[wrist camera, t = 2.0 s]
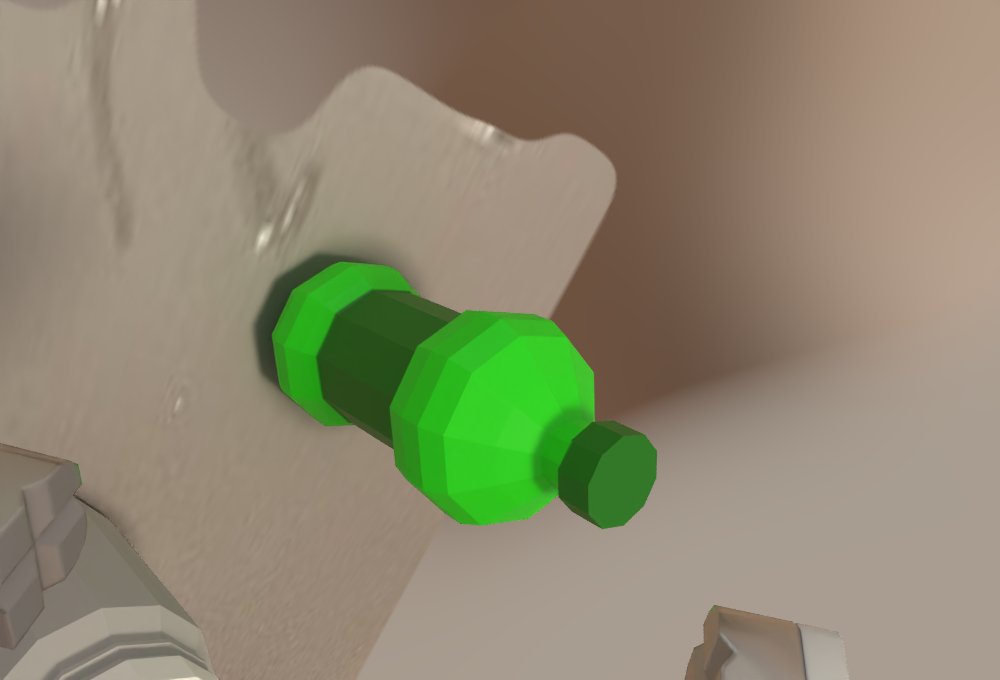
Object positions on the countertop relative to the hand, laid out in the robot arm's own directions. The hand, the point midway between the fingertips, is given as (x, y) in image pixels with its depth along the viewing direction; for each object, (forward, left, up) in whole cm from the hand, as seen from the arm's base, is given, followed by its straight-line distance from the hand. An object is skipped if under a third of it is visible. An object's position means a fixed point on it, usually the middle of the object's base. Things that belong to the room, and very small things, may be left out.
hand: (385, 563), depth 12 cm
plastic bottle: (+23, +7, -40) cm, 47 cm away
